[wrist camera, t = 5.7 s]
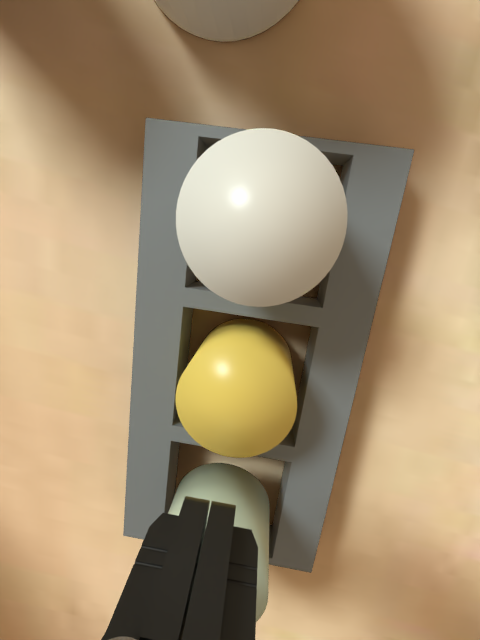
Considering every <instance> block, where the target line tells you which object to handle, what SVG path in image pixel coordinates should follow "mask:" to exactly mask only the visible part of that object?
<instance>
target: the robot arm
mask: <svg viewBox="0 0 480 640" xmlns="http://www.w3.org/2000/svg"><path fill="white" fill-rule="evenodd" d="M209 504H210V500H205V499H199V498H194V497H189V496H185V498H184V501H183V504H182V507H181V510H180V514H179V516H178V515H172V514H167V513H162V514H161V515H160V516H159V517H158V518H157V519H156V520H155V521H154V522H153V523H152V524H151V525H150V527H149V529H148V531H147V534H146V536H145V539H144V541H143V543H142V547H141V549H140V551H139V553H138V556H137V558H136V560H135V564H134V565H133V568H132V570H131V573H130V575H129V577H128V580H127V582H126V585H125V587H124V590H123V592H122V594H121V597H120V599H119V602H118V604H117V607H116V609H115V611H114V614H113V616H112V619H111V621H110V624H109V626H108V628H107V630H106V632H105V635H104V636H103V638H102V639H101V640H255V627H256V598H257V568H258V546H257V543H256V540H255V538H254V535H253V533H252V530H251V529H246V528H240V527H235V526H234V519H235V511H236V505H232V504H226V503H221V502H216V501H212V502H211V507H210V511H209ZM208 511H209V516H208ZM207 517H208V520H207ZM206 524H207V525H206Z"/></svg>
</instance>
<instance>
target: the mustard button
mask: <svg viewBox="0 0 480 640" xmlns="http://www.w3.org/2000/svg"><path fill="white" fill-rule="evenodd" d="M176 409H177V413H178V416H179V419H180V421H181V423H182V425H183V427H184V428H185V430H186V431H187V432H188V434H189V435H190V436H191V437H192V438H193V439H194V440H195V441H196V442H197V443H199V444H200V445H201V446H203V447H204V448H206V449H208V450H210V451H212V452H214V453H217V454H220V455H223V456H227V457H235V458H244V457H252V456H256V455H260V454H262V453H265V452H267V451H269V450H271V449H272V448H274V447H275V446H277V445H278V444H279V443H280V442H281V441H283V440H284V438H285V437H286V436H287V435H288V433H289V432H290V430H291V428H292V426H293V424H294V421H295V418H296V413H297V396H296V389H295V382H294V374H293V367H292V359H291V354H290V351H289V348H288V346H287V344H286V342H285V340H284V339H283V337H282V336H281V335H280V334H279V333H278V332H277V331H276V330H275V329H273V328H272V327H270V326H269V325H267V324H265V323H263V322H260V321H257V320H253V319H234V320H230V321H227V322H225V323H222V324H220V325H219V326H217V327H216V328H215V329H213V330H212V331H211V332H210V333H209V334H208V335H207V337H206V338H205V340H204V341H203V343H202V344H201V346H200V348H199V349H198V351H197V352H196V354H195V355H194V357H193V358H192V360H191V361H190V363H189V364H188V366H187V367H186V369H185V370H184V372H183V373H182V375H181V377H180V380H179V382H178V385H177V390H176Z"/></svg>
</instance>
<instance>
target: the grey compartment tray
mask: <svg viewBox="0 0 480 640" xmlns="http://www.w3.org/2000/svg"><path fill="white" fill-rule="evenodd" d="M244 130H246V129H237V128H229V127H220V126H212V125H204V124H195V123H187V122H178V121H170V120H162V119H153V118H146V124H145V142H144V161H143V179H142V198H141V217H140V235H139V254H138V273H137V291H136V310H135V329H134V347H133V366H132V385H131V403H130V422H129V441H128V459H127V478H126V497H125V515H124V534H123V536H128V537H133V538H138V539H143V540H144V539H145V536H146V534H147V531H148V529H149V527H150V525H151V524H152V523H153V522H154V521H155V520H156V519H157V518H158V517H159V516H160V515H161V514H162V513H167V514H168V512H169V509H170V507H171V504H172V501H173V499H174V496H175V485H176V475H177V465H178V455H179V445H180V442H181V443H186V444H192V445H197V446H201V445H200V444H199V443H197V442H196V441H195V440H194V439H193V438H192V437H191V436H190V435H189V434H188V432H187V431H186V430H185V428H184V427H183V425H182V423H181V421H180V419H179V416H178V413H177V409H176V390H177V385H178V382H179V380H180V377H181V375H182V373H183V372H184V370H185V369H186V367H187V364H188V354H189V344H190V334H191V324H192V314H193V308H196V309H202V310H209V311H215V312H222V313H228V314H235V315H241V316H248V317H254V318H261V319H268V320H274V321H281V322H287V323H294V324H300V325H307V326H311V331H310V336H309V341H308V346H307V351H306V356H305V361H304V367H303V372H302V377H301V382H300V387H299V392H298V397H297V413H296V418H295V421H294V424H293V426H292V428H291V430H290V432H289V433H288V435H287V436H286V437H285V438H284V440H283V441H281V442H280V443H279V444H278V445H277V446H275V447H274V448H272V449H271V450H269V451H267V452H265V453H262V454H260V455H256V456H259V457H265V458H270V459H276V460H281V461H285V464H284V469H283V474H282V479H281V484H280V489H279V495H278V500H277V505H276V510H275V515H274V520H273V525H270V524H269V564H270V565H275V566H280V567H285V568H290V569H295V570H300V571H305V572H310V573H311V572H312V568H313V564H314V560H315V555H316V551H317V547H318V543H319V539H320V535H321V531H322V527H323V523H324V519H325V514H326V510H327V506H328V502H329V498H330V494H331V490H332V486H333V482H334V477H335V473H336V469H337V465H338V461H339V457H340V453H341V449H342V445H343V440H344V436H345V432H346V428H347V424H348V420H349V416H350V412H351V408H352V404H353V399H354V395H355V391H356V387H357V383H358V379H359V375H360V371H361V367H362V362H363V358H364V354H365V350H366V346H367V342H368V338H369V334H370V330H371V326H372V321H373V317H374V313H375V309H376V305H377V301H378V297H379V293H380V289H381V284H382V280H383V276H384V272H385V268H386V264H387V260H388V256H389V252H390V247H391V243H392V239H393V235H394V231H395V227H396V223H397V219H398V215H399V211H400V206H401V202H402V198H403V194H404V190H405V186H406V182H407V178H408V174H409V169H410V165H411V161H412V157H413V153H414V150H413V149H405V148H396V147H388V146H380V145H371V144H363V143H355V142H346V141H338V140H329V139H321V138H313V137H304V136H299V137H301V138H303V139H305V140H307V141H308V142H309V143H311V144H312V145H314V146H315V147H316V148H317V149H318V150H319V151H320V152H322V153H323V154H324V155H325V156H326V158H327V159H328V160H329V162H330V163H331V164H332V165H340V166H343V167H342V172H341V177H340V181H341V183H342V186H343V189H344V193H345V197H346V203H347V229H346V235H345V239H344V243H343V246H342V249H341V251H340V254H339V256H338V258H337V260H336V261H335V263H334V265H333V267H332V268H331V269H330V271H329V272H328V273H327V275H326V276H325V277H324V278H323V279H322V280H321V281H320V285H319V290H318V295H317V299H315V298H308V297H302V296H300V297H299V298H296V299H294V300H292V301H290V302H286V303H283V304H280V305H275V306H269V307H253V306H245V305H241V304H237V303H234V302H231V301H228V300H226V299H224V298H222V297H220V296H218V295H217V294H215V293H214V292H212V291H211V290H209V289H208V288H207V287H206V286H205V285H204V284H203V283H201V281H196V276H195V275H194V273H193V272H192V270H191V269H190V267H189V266H188V264H187V262H186V260H185V258H184V256H183V254H182V251H181V248H180V245H179V241H178V237H177V230H176V208H177V201H178V197H179V193H180V190H181V187H182V185H183V182H184V180H185V178H186V176H187V174H188V172H189V171H190V169H191V167H192V166H193V165H194V163H195V162H196V161H197V159H198V158H199V157H200V156H201V155H202V154H203V153H204V152H205V151H206V150H207V149H208V148H210V147H211V146H212V145H214V144H215V143H216V142H218V141H220V140H221V139H223V138H225V137H227V136H229V135H232V134H234V133H237V132H240V131H244Z"/></svg>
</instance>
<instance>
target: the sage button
mask: <svg viewBox="0 0 480 640" xmlns="http://www.w3.org/2000/svg"><path fill="white" fill-rule="evenodd" d="M185 496H189V497H194V498H199V499H205V500H210V504H209V511H210V507H211V502H212V501H216V502H221V503H226V504H232V505H236V511H235V519H234V526H235V527H240V528H246V529H251V530H252V533H253V535H254V538H255V540H256V543H257V546H258V568H257V598H256V622H257V621H258V620H259V618H260V617H261V616H262V614H263V613H264V611H265V609H266V605H267V601H268V573H269V517H270V505H269V498H268V495H267V492H266V490H265V488H264V487H263V485H262V484H261V483H260V481H259V480H258V479H257V478H256V477H254V476H253V475H252V474H251V473H249V472H248V471H246V470H244V469H242V468H240V467H237V466H234V465H230V464H225V463H211V464H206V465H202V466H199V467H197V468H195V469H193V470H192V471H190V472H189V473H188V474H187V475H186V476H184V478H183V479H182V480H181V482H180V484H179V486H178V488H177V491H176V494H175V496H174V499H173V501H172V504H171V507H170V509H169V512H168V514H172V515H178V516H179V514H180V510H181V507H182V504H183V501H184V498H185ZM209 511H208V516H209ZM207 520H208V517H207ZM206 525H207V524H206Z"/></svg>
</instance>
